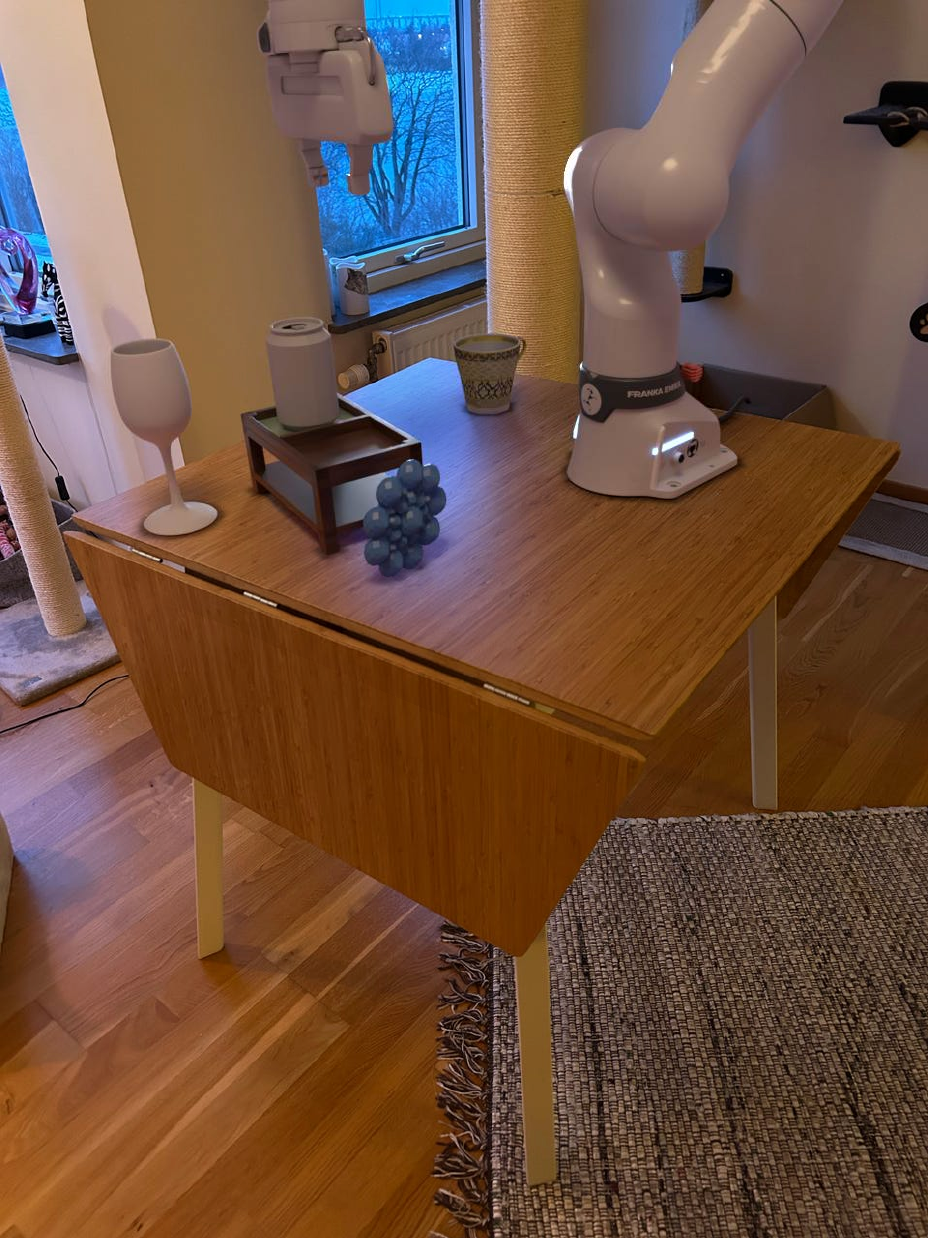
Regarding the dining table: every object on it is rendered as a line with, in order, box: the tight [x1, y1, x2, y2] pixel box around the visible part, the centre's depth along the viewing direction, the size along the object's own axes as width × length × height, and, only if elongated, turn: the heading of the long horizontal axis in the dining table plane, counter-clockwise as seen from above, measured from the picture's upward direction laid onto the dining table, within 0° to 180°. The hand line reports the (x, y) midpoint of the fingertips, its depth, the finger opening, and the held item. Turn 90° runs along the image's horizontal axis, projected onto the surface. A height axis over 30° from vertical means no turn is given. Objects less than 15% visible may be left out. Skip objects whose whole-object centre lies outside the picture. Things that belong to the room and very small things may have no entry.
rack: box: [239, 392, 424, 556], centre depth 110 cm, size 13×22×10 cm, turn 33°
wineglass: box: [110, 337, 218, 536], centre depth 105 cm, size 9×9×21 cm
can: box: [265, 316, 340, 431], centre depth 108 cm, size 8×8×12 cm
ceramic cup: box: [452, 332, 527, 415], centre depth 139 cm, size 13×10×10 cm
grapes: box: [363, 459, 447, 579], centre depth 96 cm, size 12×7×12 cm, turn 138°
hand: (338, 189), depth 93 cm, fingers open, 8 cm apart
